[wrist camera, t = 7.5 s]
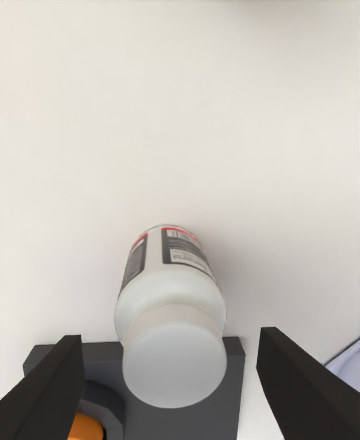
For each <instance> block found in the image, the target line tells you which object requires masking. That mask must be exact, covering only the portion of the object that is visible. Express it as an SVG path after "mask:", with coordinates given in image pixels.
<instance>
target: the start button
mask: <svg viewBox="0 0 360 440" xmlns="http://www.w3.org/2000/svg"><path fill="white" fill-rule="evenodd" d="M102 439H103V428H102V425H101V424H100V422H99V421H98V420H97V419H95V418H92V417H89V416H86V415H83V414H80V413H76V416H75V419H74V422H73V425H72V428H71V431H70V434H69V436H68V439H67V440H102Z"/></svg>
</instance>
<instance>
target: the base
mask: <svg viewBox="0 0 360 440" xmlns="http://www.w3.org/2000/svg"><path fill="white" fill-rule="evenodd" d="M222 340H223V344H224V347H225V351H226V356H227V367H226V372H225V375H224V377H223V379H222V381H221V383H220V384H219V386H218V387H217V388H216V389H215V390H214V391H213V392H212V393H211V394H210V395H209V396H208V397H206V398H204V399H203V400H201V401H199V402H197V403H195V404H193V405H189V406H185V407H179V408H160V407H155V406H152V405H149V404H148V403H145V402H143V401H142V400H140V399H139V398H137V397H136V396H135V395H134V394H133V393H132V392H131V391H130V390H129V388H128V387H127V385H126V383H125V380H124V377H123V354H124V347H123V346H122V344H121V343H120V342H108V343H84V344H82V350H83V360H84V370H85V380H84V385H83V390H82V394H81V398H80V403H79V407H78V410H77V413H80V414H83V415H86V416H89V417H92V418H95V419H97V420H98V421H99V422H100V424H101V425H102V428H103V439H102V440H237V430H238V421H239V411H240V401H241V392H242V382H243V373H244V363H245V352H244V350H243V347H242V345H241V343H240V340H239V338H238V337H226V338H222ZM54 346H55V345H37V346H34V347H33V349H32V351H31V352H30V354H29V356H28V357H27V359H26V360H25V362H24V364H23V370H24V376H26V375H27V374H28V373H29V372H30V371H31V370H32V369H33V368H34V367H35V366H36V365H37V364H38V363H39V362H40V361H41V360H42V359H43V358H44V357H45V355H46V354H47V353H48V352H49V351H50V350H51V349H52V348H53V347H54Z"/></svg>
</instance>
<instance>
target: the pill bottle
mask: <svg viewBox="0 0 360 440" xmlns="http://www.w3.org/2000/svg"><path fill="white" fill-rule="evenodd" d="M225 324H226V306H225V302H224V298H223V295H222V293H221V290H220V288H219V286H218V284H217V282H216V280H215V277H214V275H213V273H212V271H211V268H210V266H209V264H208V262H207V259H206V257H205V254H204V252H203V250H202V248H201V246H200V244H199V242H198V241H197V239H196V238H195V237H194V236H193V235H192V234H191V233H189V232H188V231H186V230H185V229H182V228H180V227H176V226H170V225H164V226H157V227H154V228H152V229H149V230H148V231H146V232H144V233H143V234H142V235H140V236H139V237H138V238H137V240H136V241H135V242H134V244H133V246H132V248H131V250H130V254H129V257H128V261H127V265H126V268H125V273H124V278H123V282H122V286H121V289H120V293H119V296H118V300H117V304H116V310H115V329H116V333H117V336H118V338H119V341H120V343H121V344H122V346H123V347H124V354H123V377H124V380H125V383H126V385H127V387H128V388H129V390H130V391H131V392H132V393H133V394H134V395H135V396H136V397H137V398H139V399H140V400H142V401H143V402H145V403H148V404H149V405H152V406H155V407H160V408H179V407H185V406H189V405H193V404H195V403H197V402H199V401H201V400H203V399H204V398H206V397H208V396H209V395H210V394H211V393H212V392H213V391H214V390H215V389H216V388H217V387H218V386H219V384H220V383H221V381H222V379H223V377H224V375H225V372H226V367H227V356H226V351H225V347H224V344H223V340H222V337H221V336H222V334H223V331H224V328H225Z"/></svg>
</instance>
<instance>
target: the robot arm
mask: <svg viewBox="0 0 360 440" xmlns="http://www.w3.org/2000/svg"><path fill="white" fill-rule="evenodd" d="M256 369H257V372H258V375H259V379H260V382H261V385H262V388H263V391H264V394H265V396H266V399H267V401H268V403H269V405H270V408H271V410H272V412H273V414H274V417H275V419H276V421H277V423H278V425H279V428H280V430H281V432H282V434H283V436H284V439H285V440H360V340H359V341H357V342H356V343H355V344H354V345H352V346H351V347H350V348H348V349H347V350H346V351H344V352H343V353H342V354H340V355H339V356H338V357H337V358H335V359H334V360H333V361H331V362H330V363H329V364H327V365H326V366H325V367H324V366H323V365H322V364H320V363H319V362H318V361H317V360H315V359H314V358H313V357H312V356H310V355H309V354H308V353H307V352H306V351H304V350H303V349H302V348H301V347H299V346H298V345H297V344H296V343H295V342H293V341H292V340H291V339H290V338H289V337H287V336H286V335H285V334H284V333H283V332H281V331H280V330H279V329H278V328H276V327H261V332H260V340H259V348H258V356H257V365H256ZM84 380H85V370H84V360H83V350H82V340H81V335H65V336H64V337H63V338H62V339H61V340H60V341H59V342H58V343H57V344H56V345H55V346H54V347H53V348H52V349H51V350H50V351H49V352H48V353H47V354H46V355H45V357H44V358H43V359H42V360H41V361H40V362H39V363H38V364H37V365H36V366H35V367H34V368H33V369H32V370H31V371H30V372H29V373H28V374H27V375H26V376H25V377H24V378H23V379H22V380H21V381H20V382H19V383H18V384H17V385H16V386H15V387H14V388H13V389H12V390H11V391H10V392H8V393H7V394H6V395H5V396H4V397H3V398H2V399H1V400H0V440H67V439H68V436H69V434H70V431H71V428H72V425H73V422H74V419H75V416H76V413H77V410H78V407H79V403H80V398H81V394H82V390H83V385H84Z"/></svg>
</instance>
